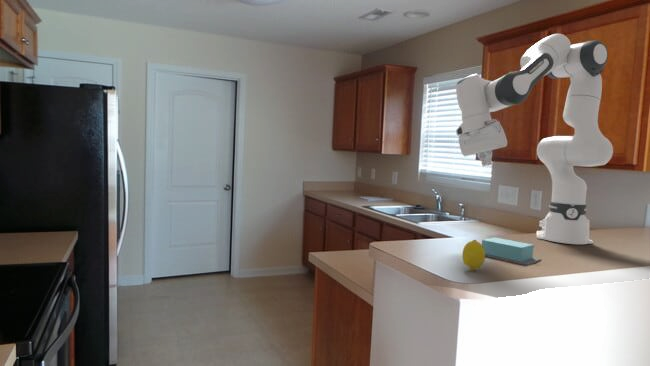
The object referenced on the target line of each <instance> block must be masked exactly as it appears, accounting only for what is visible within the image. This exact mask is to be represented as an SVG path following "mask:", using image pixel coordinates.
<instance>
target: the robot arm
mask: <svg viewBox="0 0 650 366" xmlns="http://www.w3.org/2000/svg"><path fill="white" fill-rule="evenodd" d="M608 57H609V51H608V48H607V45H606V44H604V42H603V41H601V40H587V41H585V42H578V43H574V44H572V43H571V40H570V39H569V38H568V37H567V36H566V35H565V34H563V33H562V34H561V33H553V34H551V35H548V36H546V37H544V38H542V39H541V40H539V41H538V42H536V43H535V44H534V45H532V46H531V47H529V48H528V49H527V50H526V51H525V53H524V54H523V55H522V56H521V58H520V68H521V69H520V70H515V71H510V72H507V73H506V74H505V75H503V76H501V77H499V78H497V79H495V80H493V81H492V80H488V79H485V78H483V77H482V76H480V75H479V74H478V73H474V74H473V73H472V74H470V75H468V76H466V77H464V78H462V79H460V80H459V81H457V83H456V85H455V91H456V93H455V94H456V99H457V104H458V107H459V109H460V112H461V120H462V123H461V124H460V125H459V126H458V127H457V129H456V130H455V133H456V135H457V136H458V145H459V149H460V152H461V154H462V155H463V157H469V156H472V155H477V158H478V159H479V161H481V165H482V167H488V166H491V165H493V161H492V158H493V150H497V149H501V148H506V147H507V145H508V139H507V136H506V134H505V131H504V128H503V126H502V124H501V122H500V121H499V120H498V119H496V118H492V116H491V113H492V112H493V113H494V112H497V111H500V110H503V109H506V108H509V107H511V106H516V105H520V104H522V103H523V102H525V101H526V100H527V98H528V97H529V95H530V93H531V91H532V89H533V87H534V86H535V85H536V84H537V83H538V82H539V81H540V80H541V79H542V78H544V77H545V76H547V77H548V78H550V79H553V80H554V79H556V80H557V79H563V78H569V80H570V84H569V87H568V90H567V95H566V98H565V103H564V108H563V112H562V118H563V121H564V123H566V124H567V125H568V126H570V127H571V128H573V129H574V134H573V135H554V136H549V137H545V138H542V139H541V140H540V141H539V142H538V144H537V148H536V155H537V157H538V159H539V160H540V162H542V163H543V164H544V165H545V167H546V168H547V170H548V172H549V174H550V177H551V186H552V187H551V200H550V202H549V205H548V213H547V214H546V216H545V218H543V219H542V220H539V223H538V224H539V225H538V226H539V227H540V228H541V230H536V232H535V233H536V239H540V240H545V241H549V242H555V243H561V244H569V245H587V244H588V245H589V244H590V245H592V244H594V241H593V240H592V239H590V220H589V219H588V218H587V217H586V214H587V210H588V209H587V204H586V201H587V193H588V192H587V190H588V185H587V183H586V181H585V180H584V179H583V178H582V177H580V176H578V175H577V174H576V173H575V170H574V167H589V168H591V167H599V166H600V167H601V166H605V165H607V163H608V162H610V160H611V159H612V157H613V154H614V146H613V145H612V143H611V141H610V140H609V138H607V137H606V136H605V135H603V133H602V132H601V130H600V128H599V122H598V121H599V120H598V119H599V110H600V104H601V100H602V92H603V91H602V89H603V78H602V75H601V73H603V72H602V71H603V70H604V67H605V66H606V64H607V61H608Z"/></svg>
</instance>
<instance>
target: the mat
mask: <svg viewBox="0 0 650 366" xmlns="http://www.w3.org/2000/svg"><path fill="white" fill-rule="evenodd" d="M485 257H489V258H492V259H498V260H500V261H501V260H503V261H505V262H510V263H515V264H520V265H525V266H529V265H532V264H534V263H537V262H541V261H542V258H537V257H533V258H531V259H528V260H524V261H521V262H520V261H516V260H511V259H507V258H502V257H497V256H493V255H488V254H485Z"/></svg>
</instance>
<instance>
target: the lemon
mask: <svg viewBox="0 0 650 366" xmlns="http://www.w3.org/2000/svg"><path fill="white" fill-rule="evenodd" d="M461 256H462V261H463V263H464V265H465V266H466V267H468V268H469V269H470V271H476V269H479V268H480V267H482V265H483V264H484V262H485V261H486V260H485V259H486V256H485V250H484V247H483V246H482V243H481V242H479V241H478V240H477V239H473V240H472V241H469V242H467V243H466V244H465V245H464V247H463V249H462V255H461Z"/></svg>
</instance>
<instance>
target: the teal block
mask: <svg viewBox="0 0 650 366" xmlns="http://www.w3.org/2000/svg"><path fill="white" fill-rule="evenodd" d="M481 245H482V246H483V247H484V250H485V254H488V255H493V256H497V257H502V258H507V259H511V260H516V261H520V262H521V261H524V260H528V259H531V258H534V247H535V246H534V244H532V243H526V242H521V241H515V240H510V239H505V238H500V237H491V238H490V237H489V238H485V239H481Z"/></svg>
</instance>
